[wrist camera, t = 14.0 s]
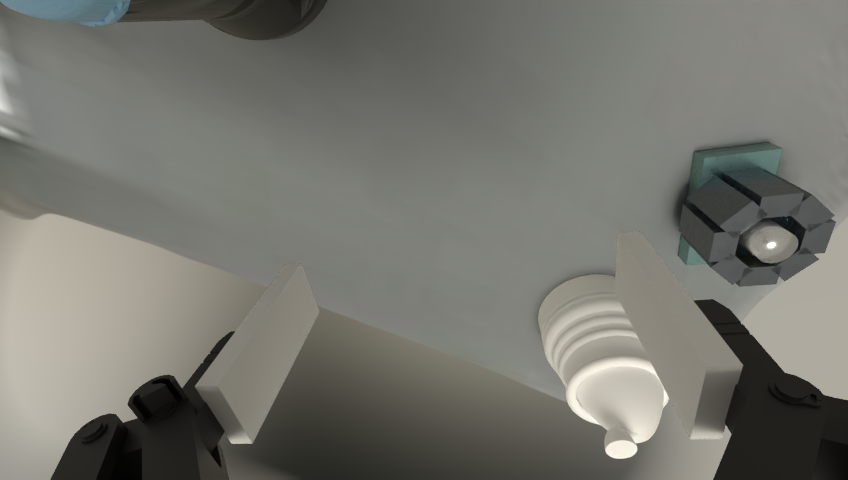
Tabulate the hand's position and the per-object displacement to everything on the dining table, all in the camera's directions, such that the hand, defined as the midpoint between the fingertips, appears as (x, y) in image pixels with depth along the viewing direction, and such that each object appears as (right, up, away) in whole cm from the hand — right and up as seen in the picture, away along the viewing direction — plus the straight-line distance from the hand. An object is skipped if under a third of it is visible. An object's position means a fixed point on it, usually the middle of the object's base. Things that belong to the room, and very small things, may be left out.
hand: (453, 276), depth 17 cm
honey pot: (+20, -8, +33) cm, 40 cm away
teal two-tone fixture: (+29, +5, +24) cm, 38 cm away
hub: (+29, +4, +23) cm, 37 cm away
